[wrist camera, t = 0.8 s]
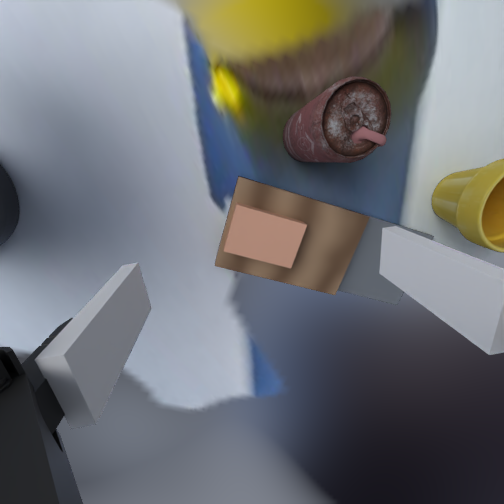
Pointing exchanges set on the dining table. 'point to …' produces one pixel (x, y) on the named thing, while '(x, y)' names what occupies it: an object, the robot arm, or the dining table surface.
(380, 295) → the mat
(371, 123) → the can
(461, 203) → the plant pot
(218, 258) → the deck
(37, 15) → the dining table surface
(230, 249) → the tile
